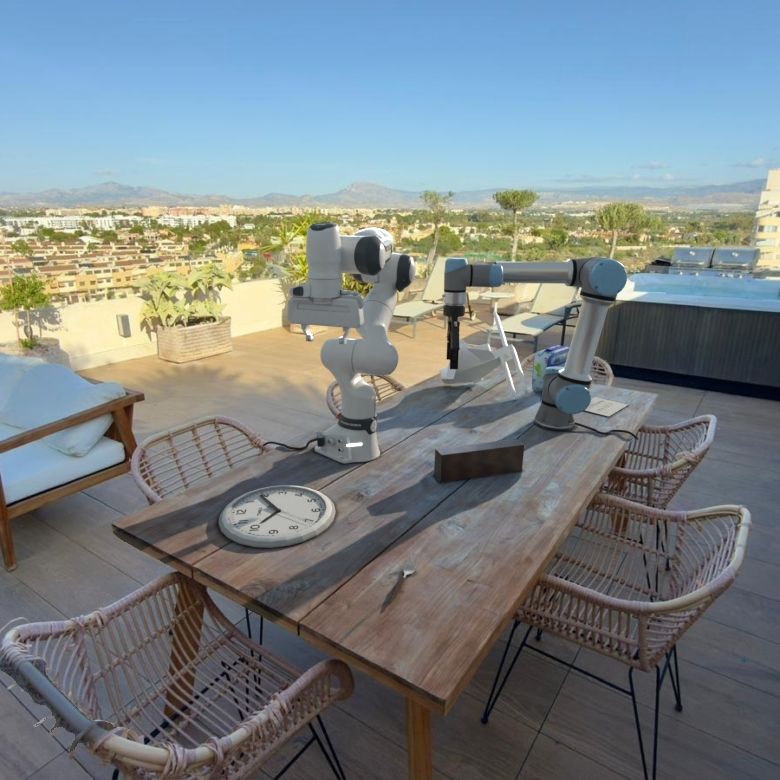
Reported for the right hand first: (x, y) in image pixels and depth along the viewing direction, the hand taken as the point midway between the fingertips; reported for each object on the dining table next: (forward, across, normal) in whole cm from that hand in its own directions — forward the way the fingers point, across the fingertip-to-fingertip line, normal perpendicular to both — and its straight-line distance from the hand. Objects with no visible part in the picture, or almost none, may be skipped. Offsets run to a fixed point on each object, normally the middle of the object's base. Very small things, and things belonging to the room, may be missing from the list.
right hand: (451, 364), depth 186 cm
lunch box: (+27, -58, +54) cm, 83 cm away
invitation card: (+28, -35, +69) cm, 82 cm away
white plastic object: (+27, -52, +19) cm, 61 cm away
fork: (+26, +86, -18) cm, 92 cm away
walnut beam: (+27, +32, +6) cm, 42 cm away
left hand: (-18, +46, -38) cm, 62 cm away
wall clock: (+26, +60, -50) cm, 82 cm away
